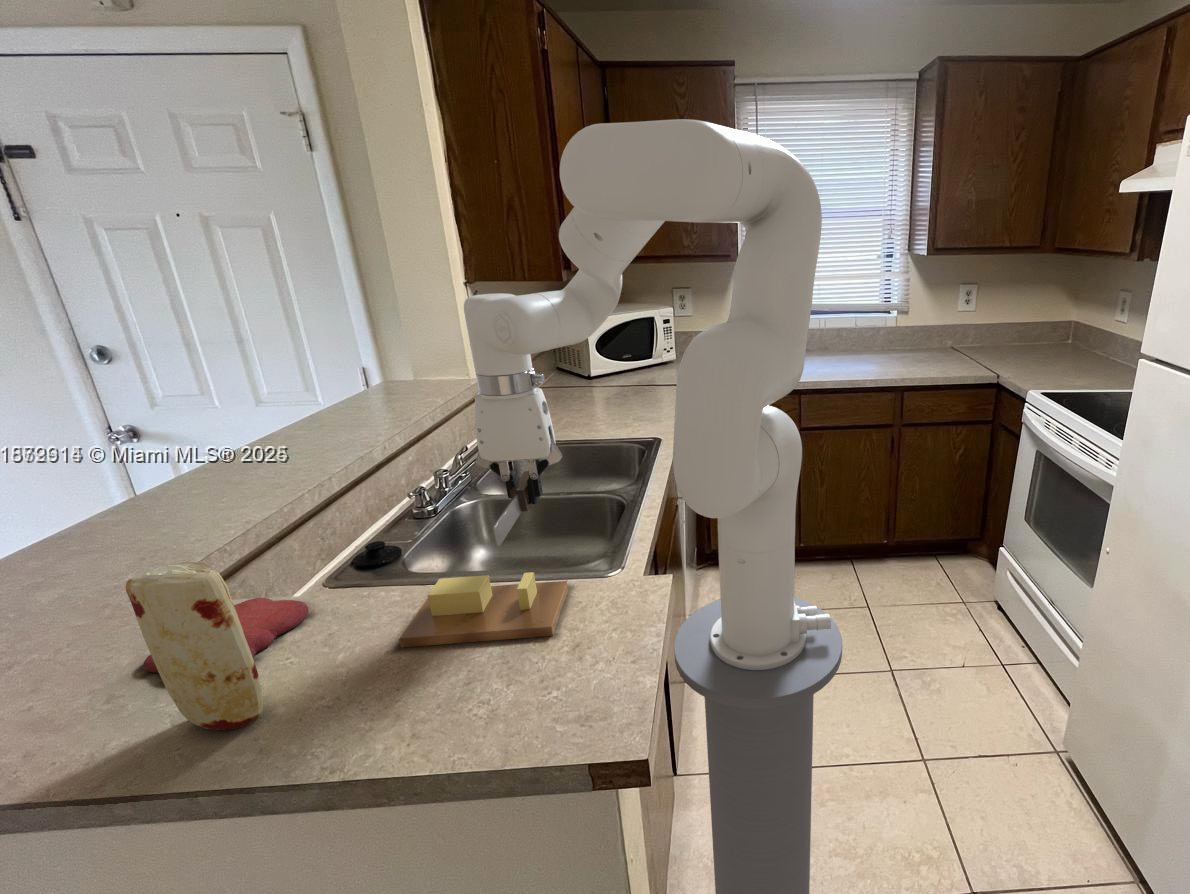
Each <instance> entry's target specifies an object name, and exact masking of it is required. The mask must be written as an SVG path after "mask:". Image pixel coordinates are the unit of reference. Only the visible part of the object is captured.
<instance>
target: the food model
mask: <svg viewBox="0 0 1190 894" xmlns="http://www.w3.org/2000/svg"><path fill="white" fill-rule="evenodd" d="M125 592H126V594H127V597H128V600H129V601H130V604H131V606H132V609H133V612H134V615H135V618H136V620H137V624H138V626H139V629H140V632H141V636H142V638H143V640H144V642H145V644H146V646H147V649H148V652H149V653H150V654H149V655H151V656H152V658H153V660H154V663H155V665H156V667H157V669H158V672H159V673H158V672H157V673H158V674H159V676H160V678H161V681H162V683H163V685H164V688H165V689H166V691H167V693H168V695H169V697H170V699H171V700H172V701H173V703H174V705H175V706H176V708H177V709H178V711H179V712H180V713H181V715H182V716H183V717H184V718H186V720H188V722H190V723H192V724H194V725H195V726H197V727H201V728H203V729H205V730H213V731H219V730H221V731H223V730H234V729H240V728H242V727H244V726H246V725H247V726H248V725H249V724H250V723H251V722H252V721H254V720H256V719H257V718H258V717H260V715H262V713H263V709H264V695H263V688H262V682H261V678H260V676H259V672H258V669H257V667H256V664H255V663H256V662H255V659H254V658H253V657H252V654H251V651H250V649H249V646H248V643H247V640H246V637H245V635H244V632H243V629H242V626H241V624H240V621H239V618H238V615H237V612H236V610H235V607H234V605H235V604H234V601H233V599H232V596H231V593H230V590H229V587H228V584H227V582H226V581H225V580H224V578H223V577H222V575H221V574H220V573H219V572H218V571H217V570H215V569H214V567H212V566H210V565H209V564H208V563H206V562H198V561H197V562H196V561H185V562H179V563H178V562H177V563H173V564H168V565H164V566H161V567H156V568H153V569H151V570H149V571H146V572H144V573H142V574H140V575H137V576H136V577H132V578H129V579H128V580H127V581H126V583H125Z"/></svg>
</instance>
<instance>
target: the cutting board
mask: <svg viewBox="0 0 1190 894" xmlns="http://www.w3.org/2000/svg"><path fill="white" fill-rule="evenodd" d="M518 585H519V583H516V584H515V583H514V584H500V585H491V590H492V597H491V599H490V601H489V603H488V604H487V606H486V608H485V610H484V612H482V613H468V614H455V615H441V616H432V613H431V609H430V604H429V600H428V598H427V599H426V600H425V602H423V605H422V606H421V607H420V608H419V610H418V611H417V613H416V614H415V616H414V617H413V618H412V620H411V621H410V623H409V624H408V625H407V626H406V628H405V629H404V631H403V633H402V634H401V635H400V636H399V638H398V641H399V644H400V648H414V647H426V646H438V645H450V644H462V643H463V644H464V643H465V644H466V643H475V642H489V641H500V640H514V639H526V638H527V639H529V638H539V637H541V638H542V637H551V636H554V633H555V631H556V628H557V624H558V622H559V619H560V617H561V613H562V610H563V608H564V605H565V600H566V598H567V596H568V593H569V589H570V588H569V580H561V581H560V580H559V581H546V582H536V588H537V594H536V596H535V598H534V601H533V603H532V606H531V608H530V609H525V610H520V606H519V600H518V594H517V587H518Z"/></svg>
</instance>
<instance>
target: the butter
mask: <svg viewBox="0 0 1190 894" xmlns="http://www.w3.org/2000/svg"><path fill="white" fill-rule="evenodd" d="M491 586H492V585H491V580H490V576H489V574H487V575H476V576H475V575H473V576H457V577H444V578H443V577H442V578H439V579H437V582H435V584H434V585H433V587H432V588H431V590H430V591H429V592H428V594H427V599H428V600H429V604H430V609H431V613H432V616H441V615H455V614H468V613H482V612H484V610H485V608H486V606H487V604H488V603H489V601H490V599H491V597H492V590H491Z"/></svg>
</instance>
